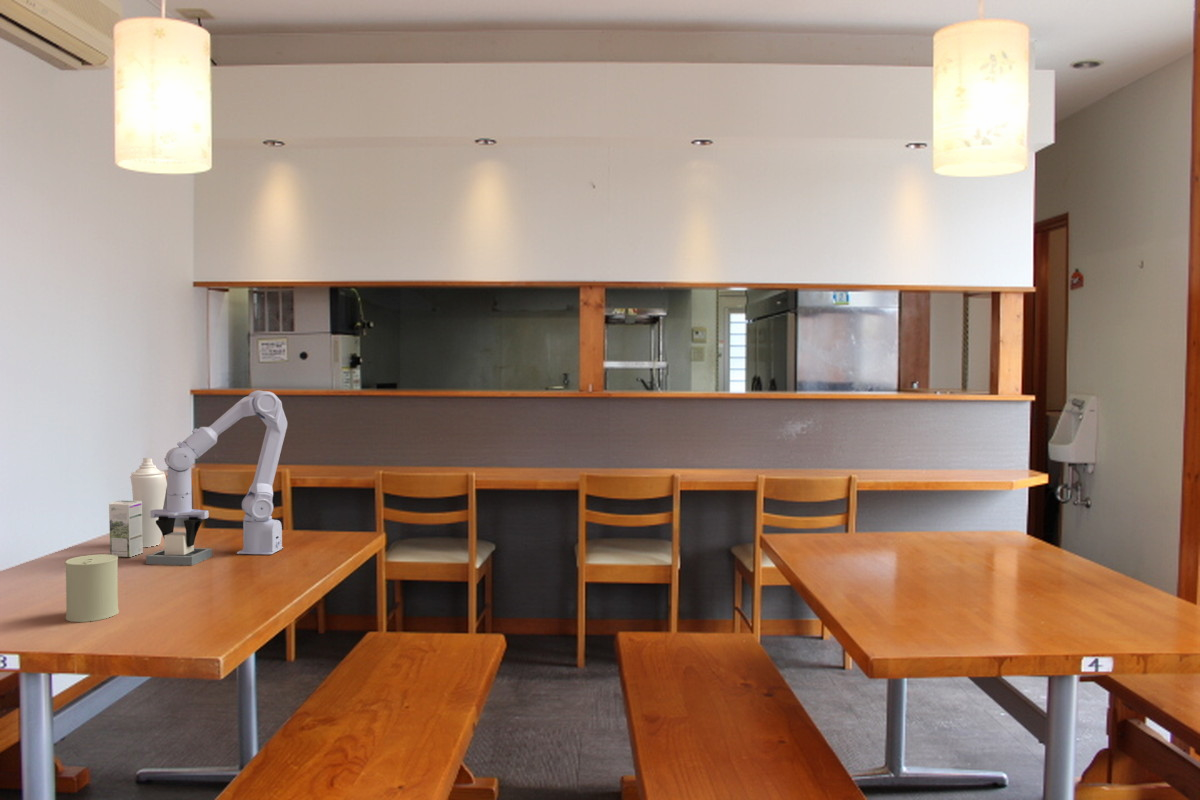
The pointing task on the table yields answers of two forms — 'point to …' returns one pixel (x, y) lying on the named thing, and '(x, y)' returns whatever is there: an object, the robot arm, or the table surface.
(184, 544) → the cream cube
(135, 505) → the syrup box
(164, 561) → the slate dish
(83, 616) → the can
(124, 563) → the table surface
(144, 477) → the spray can
